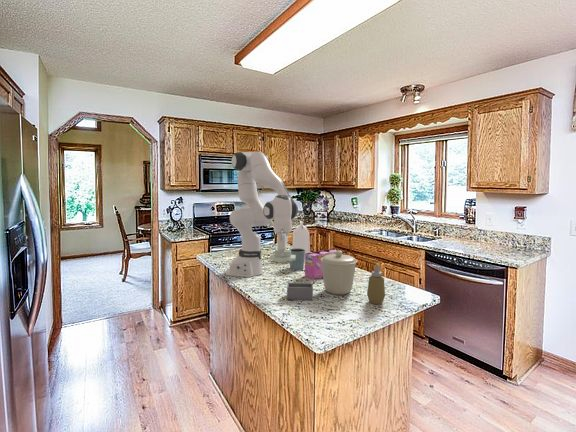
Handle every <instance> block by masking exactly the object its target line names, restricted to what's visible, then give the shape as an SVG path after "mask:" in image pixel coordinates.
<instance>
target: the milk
mask: <svg viewBox="0 0 576 432" xmlns="http://www.w3.org/2000/svg"><path fill="white" fill-rule="evenodd" d="M310 234H311V233H310V232H309V231H308V227H306V226H305V225H304V222H303V221H301V220H299V225H297V227H296V228H294V229H293V231H292V248H291V249H295V248H298V249H304V250H305V253H311V238H310V236H311V235H310ZM304 260H305V256H304Z"/></svg>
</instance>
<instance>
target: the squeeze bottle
mask: <svg viewBox="0 0 576 432" xmlns="http://www.w3.org/2000/svg"><path fill="white" fill-rule="evenodd" d="M385 287H386V286H385V278H384V276H383V272H382V271H380V266H379V264H378V263H376V264H375V267H374V270H372V271H371V274H370V276H369V277H368V284H367V292H366V294H367V295H366V296H367V298H368V302H369V303H370V304H372V305H382V304H383V302H384V300H385V297H386V291H385Z"/></svg>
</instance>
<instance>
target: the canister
mask: <svg viewBox="0 0 576 432" xmlns="http://www.w3.org/2000/svg"><path fill="white" fill-rule="evenodd" d="M321 261H322V269H323V277H322V278H323V285H324V289H325V291H326V292H327V293H329V294H331V295H340V296H341V295H347V294H349V293H351V291H352V289H353V285H354V284H353V283H354V279H355V272H356V271H355V270H356V264H357V263H358V260H357V259H356V258H355V257H353V256H351V255H348V254H343V251H342V250H338V249H337V251H336V252H335V254H331V255H326V256H324V257H322V258H321Z"/></svg>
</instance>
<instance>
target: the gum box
mask: <svg viewBox="0 0 576 432" xmlns="http://www.w3.org/2000/svg"><path fill="white" fill-rule="evenodd" d="M336 251H338V249H337V250H336V249H335V248H330V249H324V250H323V249H322V250H317V251H312V252H311V251H310V253H305V259H304V276H305V277H307V278H309V279H313V280H314V279H319V278H323V269H322V261H321V258H322V257H324V256H326V255H331V254H335V252H336Z"/></svg>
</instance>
